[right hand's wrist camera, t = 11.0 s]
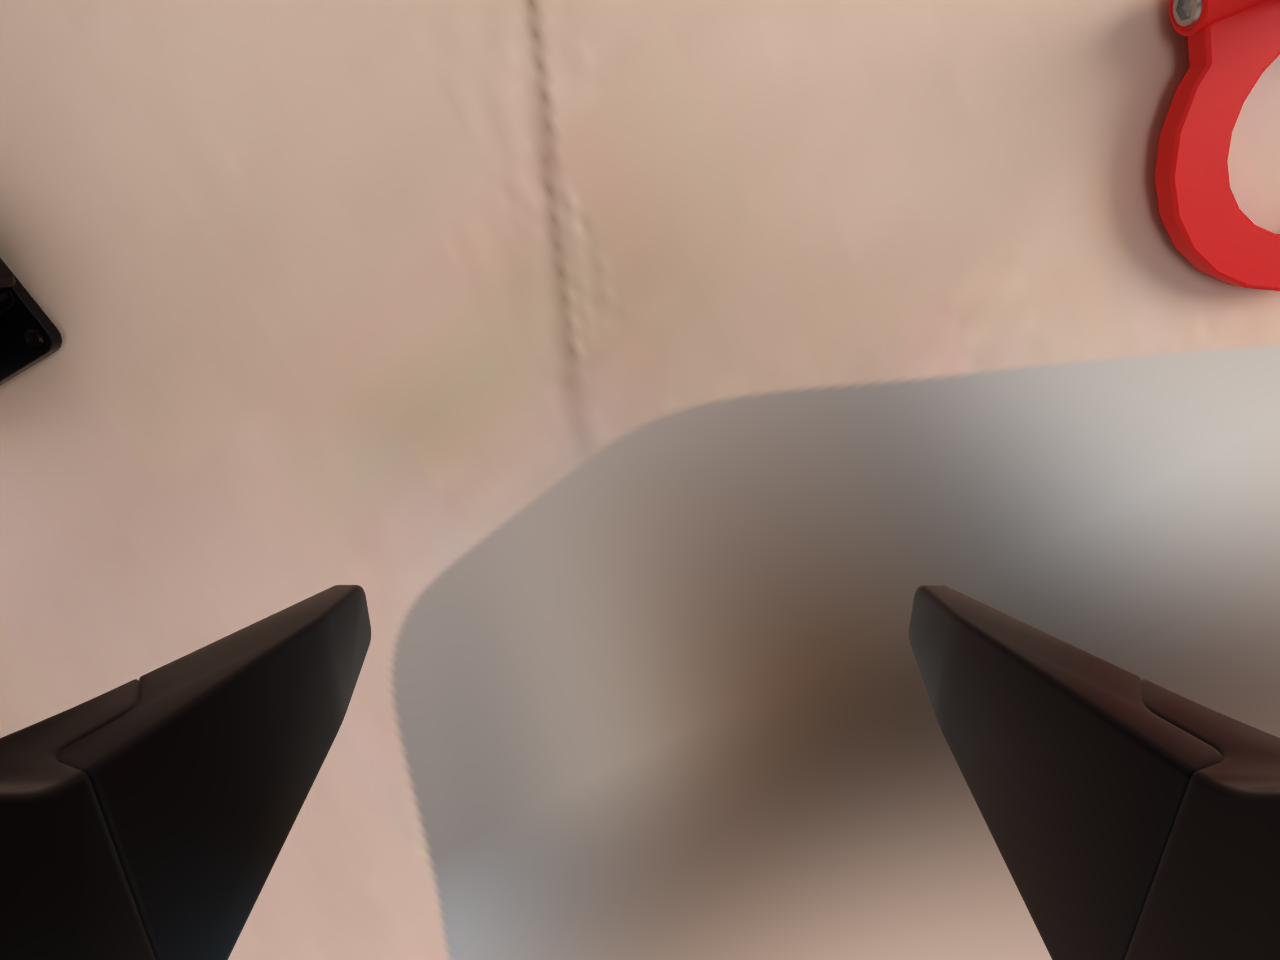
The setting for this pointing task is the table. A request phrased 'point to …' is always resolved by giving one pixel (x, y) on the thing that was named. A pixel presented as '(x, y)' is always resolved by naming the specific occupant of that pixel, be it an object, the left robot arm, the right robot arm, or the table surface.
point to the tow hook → (1216, 140)
